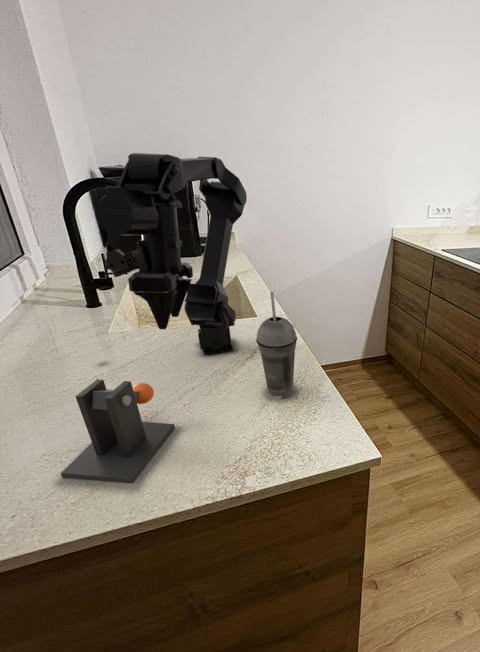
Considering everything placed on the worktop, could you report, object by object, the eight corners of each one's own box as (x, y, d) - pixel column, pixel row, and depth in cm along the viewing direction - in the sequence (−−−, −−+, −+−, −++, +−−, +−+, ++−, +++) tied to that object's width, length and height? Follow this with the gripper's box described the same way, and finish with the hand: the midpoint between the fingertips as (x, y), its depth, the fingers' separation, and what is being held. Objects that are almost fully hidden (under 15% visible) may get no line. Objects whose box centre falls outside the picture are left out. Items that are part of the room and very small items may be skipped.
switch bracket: (117, 426, 64) (97, 365, 59) (176, 431, 64) (161, 369, 58) (63, 481, 53) (33, 411, 48) (133, 486, 53) (111, 417, 48)
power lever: (137, 401, 64) (138, 381, 64) (157, 403, 64) (158, 382, 64) (87, 412, 53) (88, 387, 53) (111, 413, 52) (113, 388, 52)
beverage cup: (267, 407, 71) (257, 303, 61) (257, 387, 76) (247, 290, 67) (304, 397, 74) (301, 298, 64) (292, 379, 79) (287, 285, 70)
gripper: (127, 230, 73) (137, 311, 78) (82, 234, 56) (99, 337, 61) (190, 233, 76) (196, 311, 81) (166, 237, 58) (175, 336, 63)
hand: (169, 322), depth 71 cm, fingers open, 9 cm apart
